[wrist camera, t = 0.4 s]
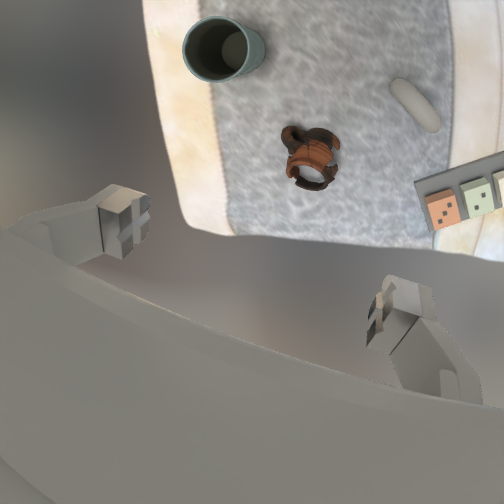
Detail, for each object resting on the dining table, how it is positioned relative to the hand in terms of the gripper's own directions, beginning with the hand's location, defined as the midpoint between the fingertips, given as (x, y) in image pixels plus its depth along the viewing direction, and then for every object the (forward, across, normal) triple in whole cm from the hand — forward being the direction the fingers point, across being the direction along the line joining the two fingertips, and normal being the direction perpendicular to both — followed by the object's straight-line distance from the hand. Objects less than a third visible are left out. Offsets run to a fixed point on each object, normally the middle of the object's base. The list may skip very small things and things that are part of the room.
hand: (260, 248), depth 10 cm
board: (+46, -28, +6) cm, 54 cm away
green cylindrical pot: (+46, +18, -5) cm, 49 cm away
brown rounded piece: (+46, +2, +10) cm, 47 cm away
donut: (+46, -12, -4) cm, 47 cm away
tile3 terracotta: (+43, -23, +11) cm, 50 cm away
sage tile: (+43, -28, +6) cm, 52 cm away
